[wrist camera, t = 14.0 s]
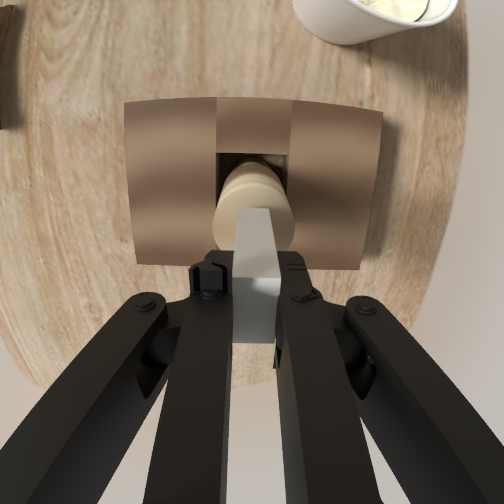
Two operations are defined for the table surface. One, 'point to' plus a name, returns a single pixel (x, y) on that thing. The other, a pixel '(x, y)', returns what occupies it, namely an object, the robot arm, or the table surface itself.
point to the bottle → (252, 203)
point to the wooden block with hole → (250, 141)
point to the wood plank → (4, 24)
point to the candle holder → (368, 17)
